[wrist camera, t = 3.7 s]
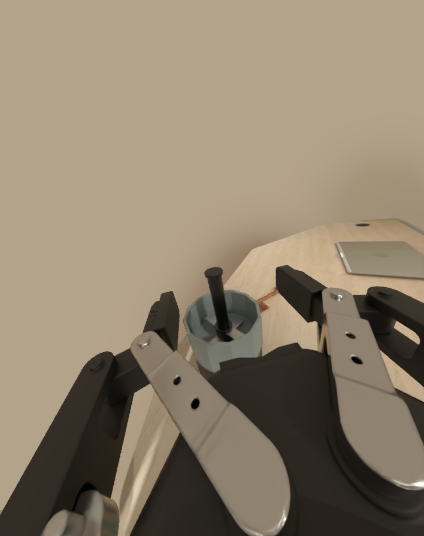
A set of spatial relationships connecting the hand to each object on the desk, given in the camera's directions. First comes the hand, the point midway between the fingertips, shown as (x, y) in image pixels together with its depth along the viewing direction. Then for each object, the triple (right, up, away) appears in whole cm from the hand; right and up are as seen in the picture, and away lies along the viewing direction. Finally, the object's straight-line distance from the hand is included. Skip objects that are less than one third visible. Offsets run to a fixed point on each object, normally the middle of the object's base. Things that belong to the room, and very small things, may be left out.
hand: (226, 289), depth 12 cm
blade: (+1, -11, +18) cm, 21 cm away
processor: (+3, -20, +22) cm, 30 cm away
